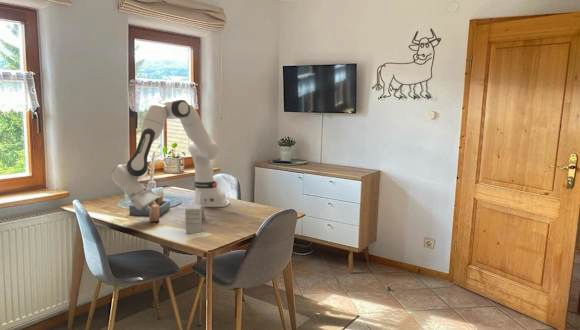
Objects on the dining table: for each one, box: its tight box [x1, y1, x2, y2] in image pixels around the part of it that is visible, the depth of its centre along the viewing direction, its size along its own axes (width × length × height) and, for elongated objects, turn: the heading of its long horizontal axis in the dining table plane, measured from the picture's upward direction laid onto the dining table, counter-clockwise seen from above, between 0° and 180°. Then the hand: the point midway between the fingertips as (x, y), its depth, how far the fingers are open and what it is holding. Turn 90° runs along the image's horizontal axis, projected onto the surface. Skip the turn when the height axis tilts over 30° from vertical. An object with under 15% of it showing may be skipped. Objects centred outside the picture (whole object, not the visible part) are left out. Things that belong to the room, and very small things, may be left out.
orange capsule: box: [148, 204, 160, 223], centre depth 232 cm, size 5×5×8 cm
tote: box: [129, 200, 171, 217], centre depth 251 cm, size 18×14×5 cm
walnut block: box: [150, 195, 163, 207], centre depth 250 cm, size 5×5×8 cm
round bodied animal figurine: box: [195, 204, 206, 220], centre depth 237 cm, size 7×12×8 cm, turn 138°
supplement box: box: [184, 204, 203, 234], centre depth 218 cm, size 7×7×13 cm
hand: (155, 210), depth 232 cm, fingers closed on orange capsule, 5 cm apart
